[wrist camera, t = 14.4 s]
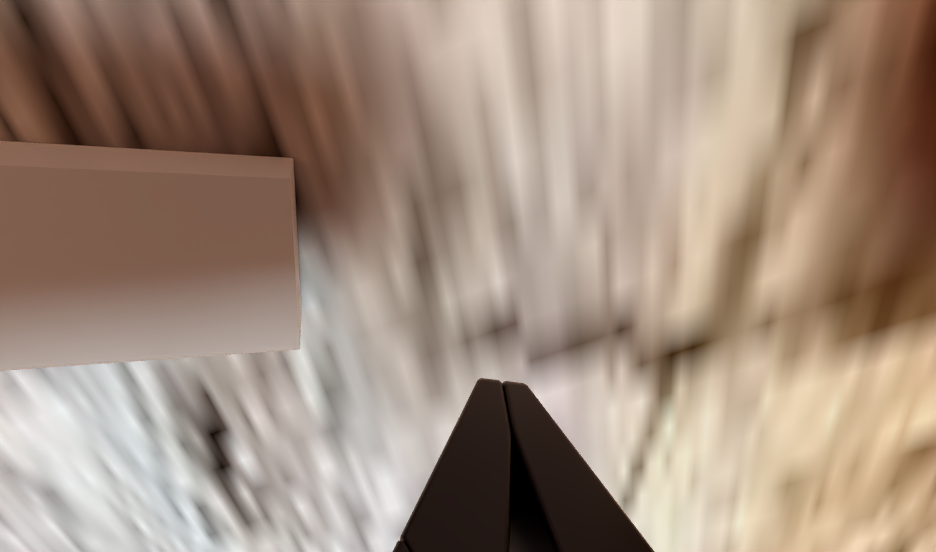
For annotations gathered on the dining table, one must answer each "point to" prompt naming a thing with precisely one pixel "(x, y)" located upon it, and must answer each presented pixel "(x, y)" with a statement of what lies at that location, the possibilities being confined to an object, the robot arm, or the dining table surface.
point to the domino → (144, 255)
